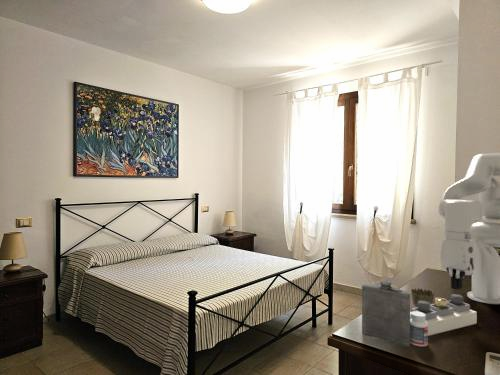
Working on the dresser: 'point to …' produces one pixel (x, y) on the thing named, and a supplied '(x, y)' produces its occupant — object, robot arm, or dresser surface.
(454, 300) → the button
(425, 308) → the button
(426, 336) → the pill bottle
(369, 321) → the flask
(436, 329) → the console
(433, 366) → the dresser surface
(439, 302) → the brass knob
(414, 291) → the olive hollow bell-shaped piece
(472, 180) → the robot arm
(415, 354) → the dresser surface
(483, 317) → the dresser surface
